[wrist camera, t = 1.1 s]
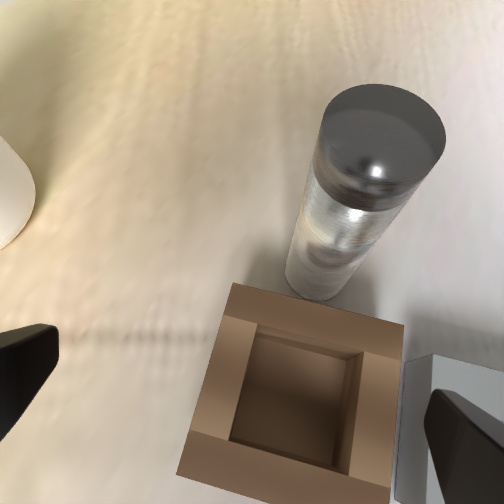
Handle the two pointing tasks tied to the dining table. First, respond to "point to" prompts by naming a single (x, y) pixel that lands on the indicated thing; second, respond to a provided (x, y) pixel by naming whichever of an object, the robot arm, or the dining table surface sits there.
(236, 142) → the dining table surface
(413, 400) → the slate block
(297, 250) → the cylinder
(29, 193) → the wine bottle
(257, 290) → the walnut block
